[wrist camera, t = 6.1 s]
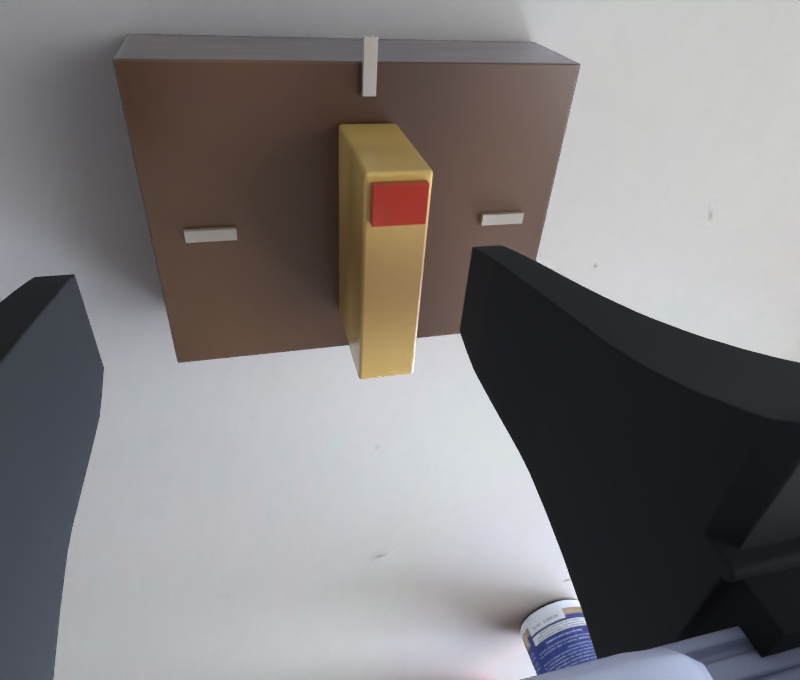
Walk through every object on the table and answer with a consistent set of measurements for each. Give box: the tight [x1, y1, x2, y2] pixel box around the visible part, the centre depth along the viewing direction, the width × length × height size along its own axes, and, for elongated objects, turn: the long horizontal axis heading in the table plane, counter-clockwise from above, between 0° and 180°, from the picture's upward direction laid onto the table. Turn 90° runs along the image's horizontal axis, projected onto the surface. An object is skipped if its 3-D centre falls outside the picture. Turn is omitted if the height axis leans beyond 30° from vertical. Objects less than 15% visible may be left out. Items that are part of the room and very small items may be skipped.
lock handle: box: [339, 124, 433, 379], centre depth 16 cm, size 6×2×4 cm, turn 176°
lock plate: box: [113, 34, 580, 363], centre depth 19 cm, size 12×10×3 cm
